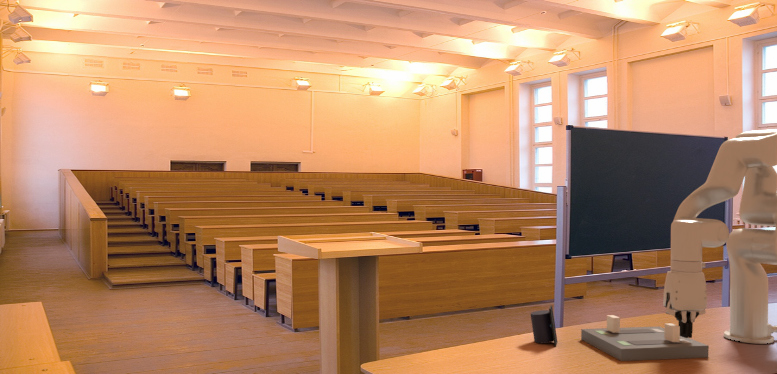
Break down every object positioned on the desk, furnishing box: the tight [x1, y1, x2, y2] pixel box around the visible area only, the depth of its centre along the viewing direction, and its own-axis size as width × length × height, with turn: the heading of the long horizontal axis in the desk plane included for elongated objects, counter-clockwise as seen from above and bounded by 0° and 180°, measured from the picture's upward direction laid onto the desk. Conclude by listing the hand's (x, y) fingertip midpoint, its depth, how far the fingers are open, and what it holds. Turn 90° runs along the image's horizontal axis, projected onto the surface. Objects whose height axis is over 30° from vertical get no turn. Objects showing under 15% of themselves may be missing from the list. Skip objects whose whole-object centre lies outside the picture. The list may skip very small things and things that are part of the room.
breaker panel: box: [580, 326, 709, 362], centre depth 173 cm, size 24×22×3 cm
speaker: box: [529, 304, 558, 347], centre depth 178 cm, size 8×6×10 cm
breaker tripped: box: [664, 322, 680, 342], centre depth 168 cm, size 2×4×4 cm, turn 9°
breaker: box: [606, 314, 621, 332], centre depth 178 cm, size 2×4×4 cm, turn 9°
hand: (685, 336), depth 168 cm, fingers closed
